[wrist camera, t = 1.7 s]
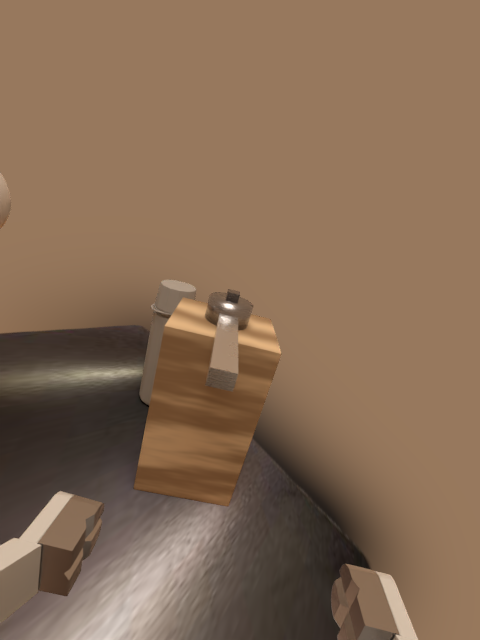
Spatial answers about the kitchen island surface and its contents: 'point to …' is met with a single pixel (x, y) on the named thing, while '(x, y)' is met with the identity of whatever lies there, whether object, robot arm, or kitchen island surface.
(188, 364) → the wooden block
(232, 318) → the ratchet wrench
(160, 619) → the kitchen island surface
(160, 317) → the water bottle
